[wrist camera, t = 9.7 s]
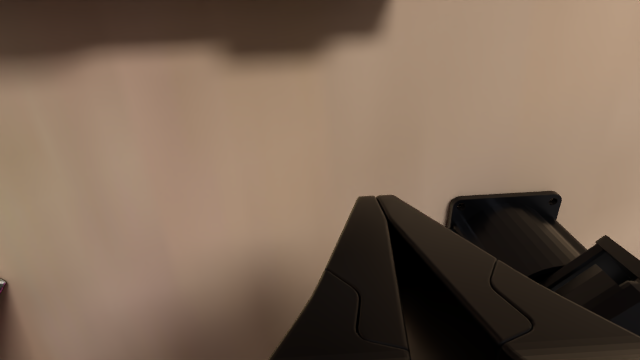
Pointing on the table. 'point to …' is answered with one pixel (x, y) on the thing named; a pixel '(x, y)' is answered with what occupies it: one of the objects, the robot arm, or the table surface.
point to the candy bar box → (2, 284)
